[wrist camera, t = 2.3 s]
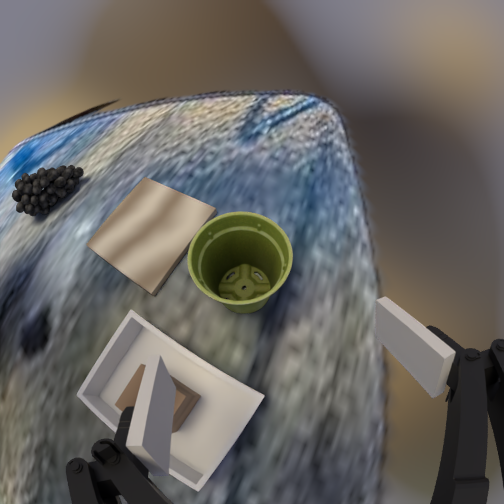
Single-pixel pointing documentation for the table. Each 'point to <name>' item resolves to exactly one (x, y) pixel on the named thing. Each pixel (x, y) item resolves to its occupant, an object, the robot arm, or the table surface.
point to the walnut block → (183, 398)
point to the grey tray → (190, 374)
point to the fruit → (53, 184)
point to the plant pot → (240, 260)
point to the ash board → (150, 233)
